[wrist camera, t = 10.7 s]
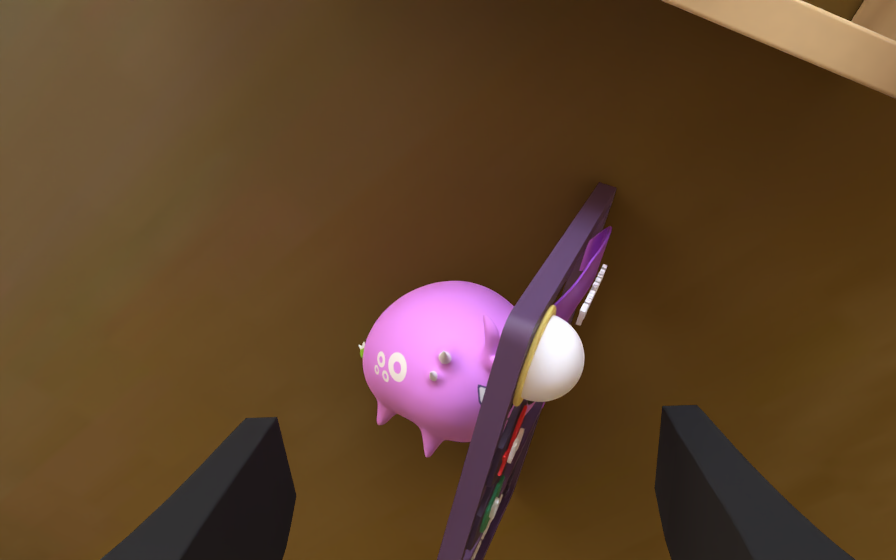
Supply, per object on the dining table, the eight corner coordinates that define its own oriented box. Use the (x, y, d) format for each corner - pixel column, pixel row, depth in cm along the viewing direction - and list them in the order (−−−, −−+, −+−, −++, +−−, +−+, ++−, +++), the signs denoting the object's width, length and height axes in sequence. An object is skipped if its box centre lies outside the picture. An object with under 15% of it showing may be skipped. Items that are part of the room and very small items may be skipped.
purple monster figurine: (447, 738, 13) (588, 351, 9) (216, 611, 14) (239, 217, 10) (540, 502, 19) (653, 196, 14) (369, 425, 20) (425, 122, 16)
